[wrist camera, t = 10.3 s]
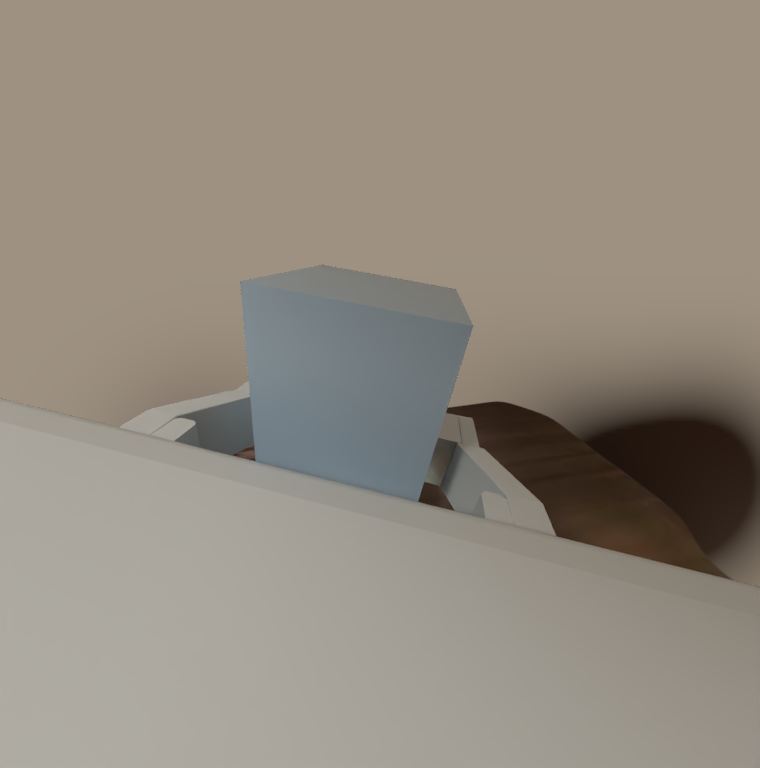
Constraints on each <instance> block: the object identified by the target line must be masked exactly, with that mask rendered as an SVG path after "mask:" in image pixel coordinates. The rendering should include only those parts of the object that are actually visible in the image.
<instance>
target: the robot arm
mask: <svg viewBox="0 0 760 768" xmlns="http://www.w3.org/2000/svg"><path fill="white" fill-rule="evenodd" d="M253 444H254V436H253V424H252V413H251V401H250V389H249V381H248V382H246V383H245V384H243V385H242V386H241V387H239V388H238V389H237V390H235V391H226V392H221V393H217V394H212V395H208V396H203V397H199V398H195V399H190V400H186V401H181V402H177V403H173V404H168V405H164V406H159V407H155V408H151V409H148V410H146V411H145V412H143V413H141V414H139V415H138V416H136V417H134V418H133V419H131V420H129V421H127V422H126V423H124V424H122V425H121V426H119V427H115V426H111V425H107V424H103V423H99V422H95V421H91V420H87V419H83V418H79V417H75V416H71V415H67V414H63V413H58V412H55V411H51V410H47V409H43V408H39V407H34V406H31V405H27V404H23V403H19V402H15V401H11V400H7V399H3V398H0V768H760V587H758V586H754V585H750V584H746V583H742V582H738V581H734V580H730V579H726V578H722V577H718V576H714V575H710V574H706V573H702V572H698V571H694V570H690V569H686V568H682V567H678V566H674V565H670V564H666V563H662V562H658V561H654V560H650V559H645V558H641V557H637V556H633V555H629V554H625V553H621V552H617V551H613V550H609V549H605V548H601V547H597V546H593V545H589V544H585V543H581V542H577V541H573V540H569V539H565V538H561V537H557V536H556V534H555V532H554V529H553V527H552V525H551V522H550V520H549V517H548V515H547V513H546V510H545V508H544V505H543V503H541V502H540V501H539V500H538V499H537V498H536V497H535V496H534V495H533V494H532V493H531V492H530V491H529V490H528V489H527V488H525V487H524V486H523V485H522V484H521V483H520V482H519V481H518V480H517V479H516V478H515V477H514V476H513V475H512V474H510V473H509V472H508V471H507V470H506V469H505V468H504V467H503V466H502V465H501V464H500V463H499V462H498V461H497V460H496V459H494V458H493V457H492V456H491V455H490V454H489V453H488V452H487V451H486V450H485V449H483V448H480V447H479V443H478V439H477V434H476V430H475V426H474V421H473V419H472V418H469V417H464V416H458V415H453V414H448V413H446V414H445V417H444V420H443V424H442V427H441V430H440V433H439V436H438V439H437V443H436V446H435V449H434V452H433V455H432V459H431V462H430V465H429V468H428V471H427V474H426V478H425V481H424V482H427V483H430V484H434V485H438V486H441V488H442V490H443V492H444V493H445V495H446V497H447V499H448V500H449V502H450V504H451V505H452V507H453V509H454V510H455V511H453V510H449V509H445V508H441V507H437V506H433V505H429V504H425V503H421V502H416V501H412V500H408V499H404V498H400V497H396V496H392V495H388V494H384V493H380V492H376V491H372V490H368V489H364V488H360V487H356V486H352V485H348V484H344V483H340V482H336V481H332V480H328V479H324V478H320V477H316V476H312V475H308V474H304V473H300V472H296V471H292V470H288V469H284V468H280V467H276V466H272V465H268V464H264V463H260V462H256V461H252V460H248V459H244V458H240V457H236V456H232V455H234V454H236V453H238V452H240V451H241V450H243V449H245V448H247V447H249V446H251V445H253Z"/></svg>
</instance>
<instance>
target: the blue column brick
mask: <svg viewBox="0 0 760 768" xmlns="http://www.w3.org/2000/svg"><path fill="white" fill-rule="evenodd" d="M240 283H241V294H242V306H243V318H244V330H245V342H246V353H247V365H248V377H249V389H250V401H251V413H252V424H253V436H254V448H255V460H256V462H260V463H264V464H268V465H272V466H276V467H280V468H284V469H288V470H292V471H296V472H300V473H304V474H308V475H312V476H316V477H320V478H324V479H328V480H332V481H336V482H340V483H344V484H348V485H352V486H356V487H360V488H364V489H368V490H372V491H376V492H380V493H384V494H388V495H392V496H396V497H400V498H404V499H408V500H412V501H416V502H418V500H419V497H420V494H421V490H422V487H423V484H424V481H425V478H426V474H427V471H428V468H429V465H430V462H431V459H432V455H433V452H434V449H435V446H436V443H437V439H438V436H439V433H440V430H441V427H442V424H443V420H444V417H445V414H446V411H447V408H448V404H449V401H450V398H451V395H452V392H453V388H454V385H455V382H456V379H457V376H458V373H459V369H460V366H461V363H462V360H463V357H464V353H465V350H466V347H467V344H468V341H469V337H470V334H471V331H472V328H473V324H472V322H471V320H470V318H469V316H468V314H467V312H466V310H465V307H464V305H463V303H462V301H461V299H460V297H459V295H458V293H457V290H456V289H452V288H446V287H441V286H436V285H429V284H424V283H419V282H413V281H408V280H403V279H397V278H391V277H386V276H381V275H375V274H370V273H364V272H358V271H353V270H348V269H342V268H336V267H331V266H326V265H319V266H315V267H309V268H304V269H299V270H294V271H289V272H284V273H279V274H274V275H269V276H265V277H259V278H254V279H249V280H244V281H241V282H240Z"/></svg>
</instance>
